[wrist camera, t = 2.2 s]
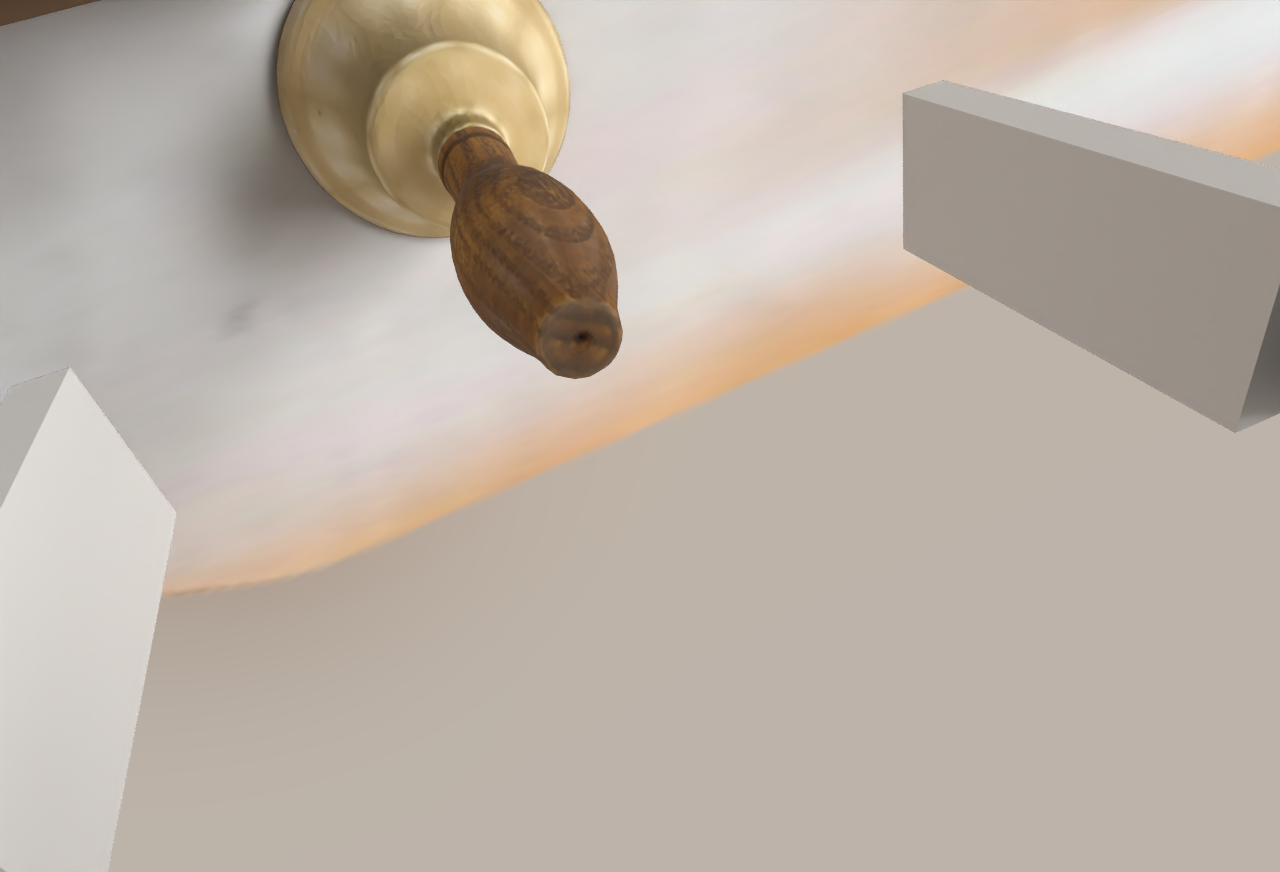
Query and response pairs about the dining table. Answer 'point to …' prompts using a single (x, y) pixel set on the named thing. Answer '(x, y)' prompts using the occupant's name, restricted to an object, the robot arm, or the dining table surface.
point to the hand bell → (458, 155)
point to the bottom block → (33, 8)
